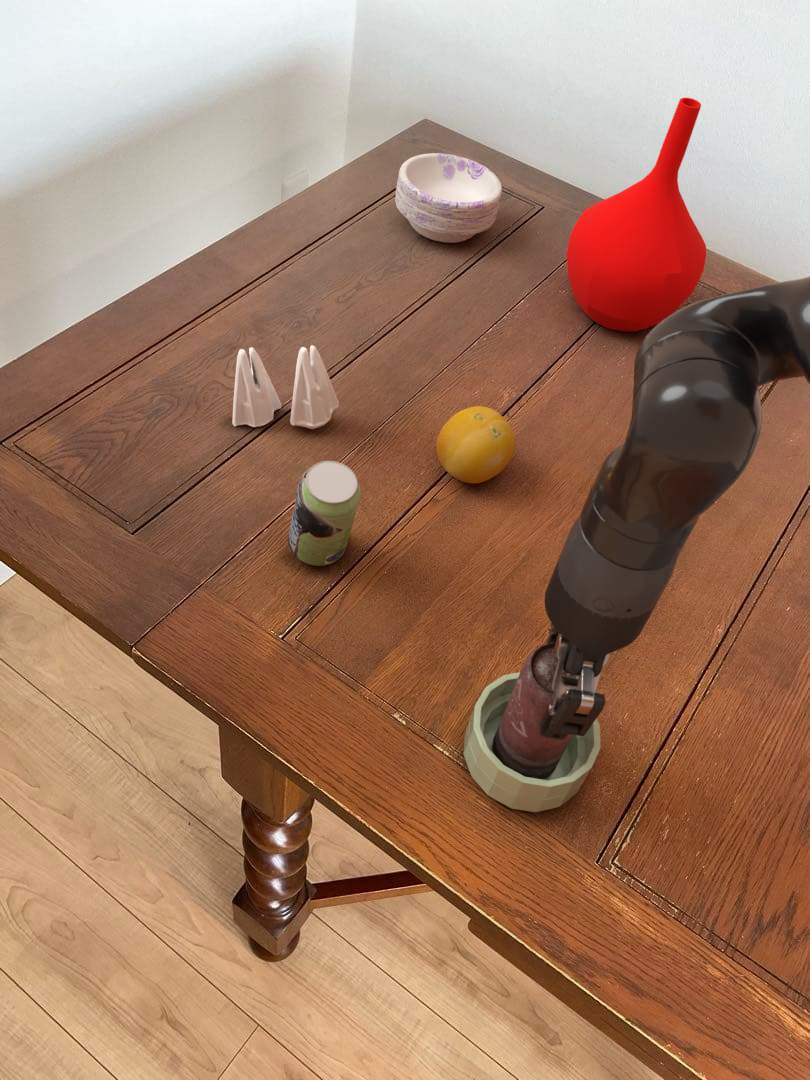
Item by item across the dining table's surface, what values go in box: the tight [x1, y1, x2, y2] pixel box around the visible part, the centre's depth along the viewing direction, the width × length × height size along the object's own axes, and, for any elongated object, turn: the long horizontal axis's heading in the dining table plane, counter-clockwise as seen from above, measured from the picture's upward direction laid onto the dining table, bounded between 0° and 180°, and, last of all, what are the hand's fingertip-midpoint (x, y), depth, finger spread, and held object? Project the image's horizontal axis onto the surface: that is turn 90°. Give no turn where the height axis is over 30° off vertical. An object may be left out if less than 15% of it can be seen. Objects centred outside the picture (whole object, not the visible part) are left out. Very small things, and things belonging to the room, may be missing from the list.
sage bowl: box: [463, 671, 601, 813], centre depth 86 cm, size 11×11×6 cm
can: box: [492, 642, 579, 780], centre depth 83 cm, size 6×6×14 cm
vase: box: [566, 97, 707, 333], centre depth 126 cm, size 18×18×30 cm
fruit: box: [435, 405, 516, 484], centre depth 109 cm, size 9×8×8 cm
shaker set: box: [231, 344, 340, 430], centre depth 109 cm, size 12×4×11 cm, turn 89°
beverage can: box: [287, 460, 362, 567], centre depth 96 cm, size 6×7×12 cm
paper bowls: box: [394, 152, 503, 244], centre depth 142 cm, size 15×15×8 cm
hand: (551, 697), depth 81 cm, fingers closed on can, 6 cm apart
